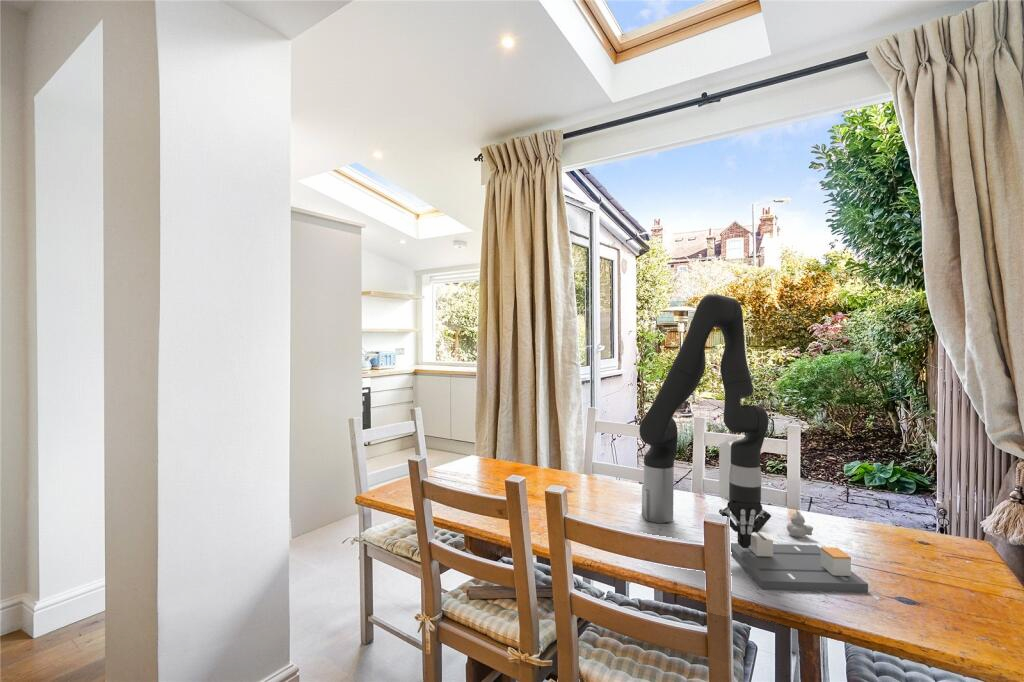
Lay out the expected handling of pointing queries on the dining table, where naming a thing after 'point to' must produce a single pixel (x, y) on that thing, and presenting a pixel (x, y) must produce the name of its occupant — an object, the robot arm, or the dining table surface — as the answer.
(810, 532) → the grey figurine
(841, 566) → the orange fader cap
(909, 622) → the dining table surface
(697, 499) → the dining table surface
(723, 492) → the milk
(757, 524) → the robot arm
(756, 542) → the cream cap
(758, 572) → the fader console
